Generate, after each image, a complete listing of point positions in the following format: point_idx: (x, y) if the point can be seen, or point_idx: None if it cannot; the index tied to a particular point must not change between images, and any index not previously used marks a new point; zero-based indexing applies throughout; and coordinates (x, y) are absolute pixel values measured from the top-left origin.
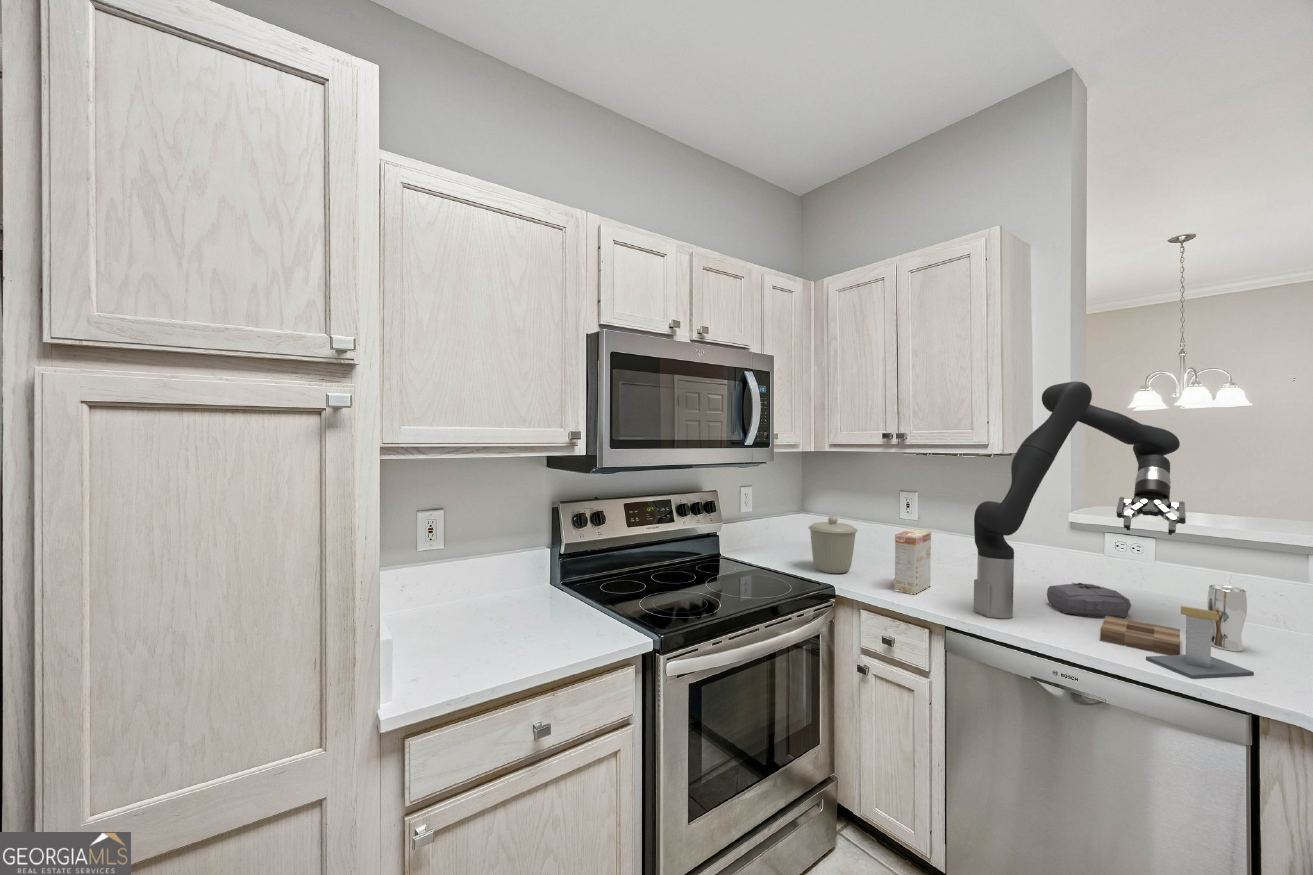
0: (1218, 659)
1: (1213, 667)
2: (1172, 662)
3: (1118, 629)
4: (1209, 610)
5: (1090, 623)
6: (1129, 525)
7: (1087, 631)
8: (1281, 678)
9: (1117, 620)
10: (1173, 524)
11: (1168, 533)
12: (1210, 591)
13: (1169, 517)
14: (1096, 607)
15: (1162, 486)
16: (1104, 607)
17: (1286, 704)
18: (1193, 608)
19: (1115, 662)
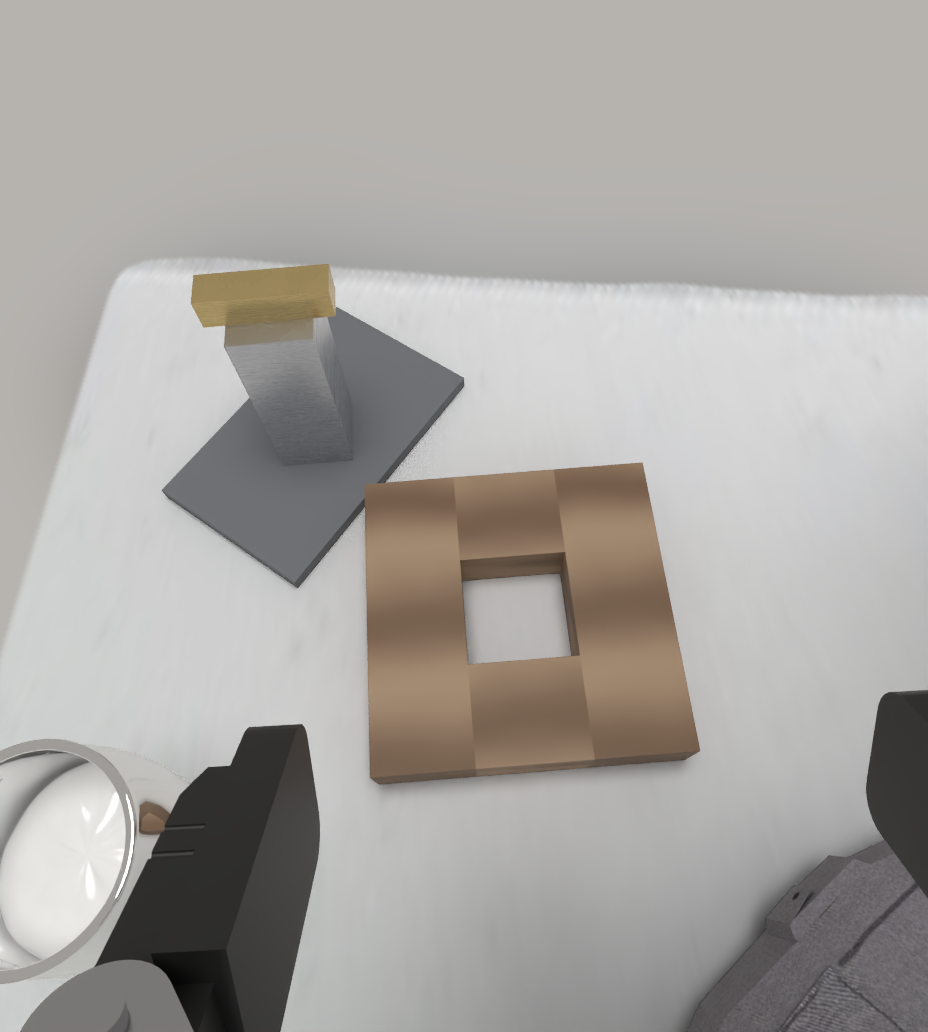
0: (251, 546)
1: None
2: (388, 382)
3: (587, 517)
4: None
5: (750, 747)
6: (899, 697)
7: (709, 581)
8: (87, 539)
9: (630, 688)
10: (178, 885)
11: (314, 793)
12: (148, 799)
13: (190, 1025)
14: (792, 891)
15: None
16: (764, 949)
17: (137, 301)
18: (280, 285)
19: (533, 289)
